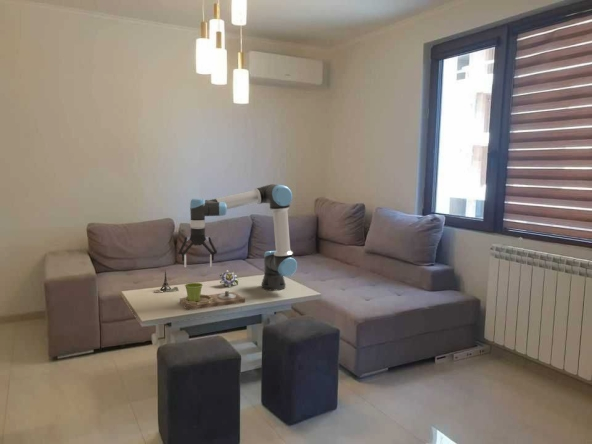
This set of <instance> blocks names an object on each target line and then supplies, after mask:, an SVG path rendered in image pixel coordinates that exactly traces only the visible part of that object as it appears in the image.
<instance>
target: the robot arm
mask: <svg viewBox="0 0 592 444" xmlns="http://www.w3.org/2000/svg"><path fill="white" fill-rule="evenodd" d="M292 200H293V193H292V191H291V189H290V188H289V187H288V186H286V185H283V184H274V183H273V184H267V185H263V186H260V187H256V188H254V189H253V190H249V191H246V192H241V193H236V194H231V195H227V196H223V197H218V198H214V199H213V198H211V199H205V198H192V199H190V203H189V205H190V206H189V208H190V209H189V212H190V219H189V220H190V236H185V237H184V241H183V243H182V245H181V247H180V248H179V251H178V254H179V255H181V260H182V262H184V265H183V267H184V268H187V254H186V253H187V252H188V251H189V249H190V248H191V247H193V245H194V246H203V247H204V249H206V250H207V251H208V252H209V254H210V255H209V267H210V268H212V266H213V264H212V263H213V261H215V255H217V254H218V250H217V248H216V246H215V245H214V243H213V240H212V237H211V236H206V228H205V227H206V217H221V216H225V215H226V214H227V211H228V210H230V209H235V208H240V207H244V206H249V205H252V204H253V205H254V204H258V205H261V204H269V209H270V210H271V212H272V216H273V217H272V218H273V230H274V243H275V250H270V251H269V250H268V251H265V252H264V255H263V256H264V257H263V258H264V263H263V264H264V265H263V269H264V275H263V279H262V281H261V289H264V290H266V289H267V290H269V291H279V289H281V290H284V289H285V288H286V286H287V285H286V281H285V277H286V278H287V277H292V276H293V275H294V274H295V273H296V271H297V269H298V262H297V260H296V259H295V258H294V251H293V250H291V240H290V239H291V238H290V229H289V228H290V227H289V216H288V215H289V212H288V210H289V209H290V207H291V206H290V204H291V203H292ZM188 241H190V244H189V245H187V247H186V244H187V243H188ZM205 241H207V242H209V245H210V246H209V245H208V244H207V243H206V242H205ZM185 247H186V248H185ZM210 247H211V248H210ZM184 248H185V250H184ZM183 250H184V251H183ZM283 288H284V289H283Z"/></svg>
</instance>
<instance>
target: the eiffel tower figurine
mask: <svg viewBox="0 0 592 444" xmlns="http://www.w3.org/2000/svg"><path fill="white" fill-rule="evenodd" d="M159 290H161V291H163V292H162V293H169V292H179V290H180V289H179V288H178V286H175V287H172V288H171V286H170V285H169V283H168V278H167V271H166V269H165V271H164V280H163V284H162V286H161V287H160V289H159ZM156 293H158V292H156ZM156 293H155V294H156Z"/></svg>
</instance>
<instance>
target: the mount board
mask: <svg viewBox="0 0 592 444" xmlns="http://www.w3.org/2000/svg"><path fill="white" fill-rule="evenodd" d="M245 302H246V299H245V297H243V296H241V295H240V294H239V293H237V292H235V291H231V292H229V290H226V291H224V292H222V293H215V294H200V300H199V301H195V302H191V301H188V296H187V295H186V296H185V297H183V298H179V303H180V304H181V305H182V306H183V307H184V308H185V309H186V310H187V311H192V310H197V309H206V308H213V307H221V306H227V305H235V304H242V303H245Z"/></svg>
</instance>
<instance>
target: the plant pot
mask: <svg viewBox="0 0 592 444" xmlns="http://www.w3.org/2000/svg"><path fill="white" fill-rule="evenodd" d="M184 287H185V289H186V293H187V295H186V297H187V296H188V301H191V302H195V301H199V300H200V294H201V292H202V288H203V283H199V282H191V283H187V284H185V285H184Z"/></svg>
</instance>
